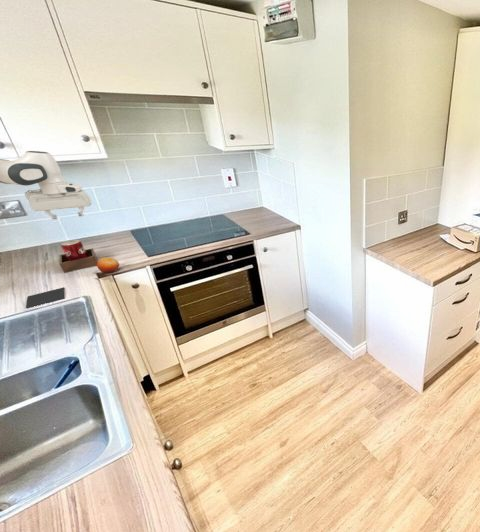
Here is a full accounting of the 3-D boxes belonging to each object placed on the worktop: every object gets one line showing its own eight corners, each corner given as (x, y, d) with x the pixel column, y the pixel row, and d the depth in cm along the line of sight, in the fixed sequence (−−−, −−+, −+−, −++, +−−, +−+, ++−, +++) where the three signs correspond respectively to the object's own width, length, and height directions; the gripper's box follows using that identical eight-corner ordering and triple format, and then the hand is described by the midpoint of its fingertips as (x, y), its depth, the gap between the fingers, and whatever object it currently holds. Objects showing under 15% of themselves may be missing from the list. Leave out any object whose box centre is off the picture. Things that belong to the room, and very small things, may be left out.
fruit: (97, 266, 155) (102, 252, 153) (118, 271, 159) (123, 258, 158) (91, 274, 148) (96, 259, 147) (112, 279, 153) (117, 265, 151)
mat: (26, 308, 126) (25, 307, 126) (28, 297, 133) (27, 296, 133) (64, 298, 133) (64, 297, 133) (64, 288, 140) (63, 287, 140)
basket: (64, 273, 152) (59, 263, 150) (64, 264, 160) (59, 254, 158) (99, 265, 160) (94, 256, 157) (97, 256, 168) (92, 248, 165)
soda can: (71, 269, 155) (59, 246, 150) (71, 264, 160) (60, 241, 155) (91, 265, 160) (80, 242, 154) (90, 260, 164) (80, 238, 159)
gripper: (19, 192, 138) (35, 222, 144) (82, 187, 148) (94, 216, 154) (25, 189, 143) (40, 218, 149) (85, 184, 152) (97, 212, 159)
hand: (68, 217), depth 152 cm, fingers open, 8 cm apart
